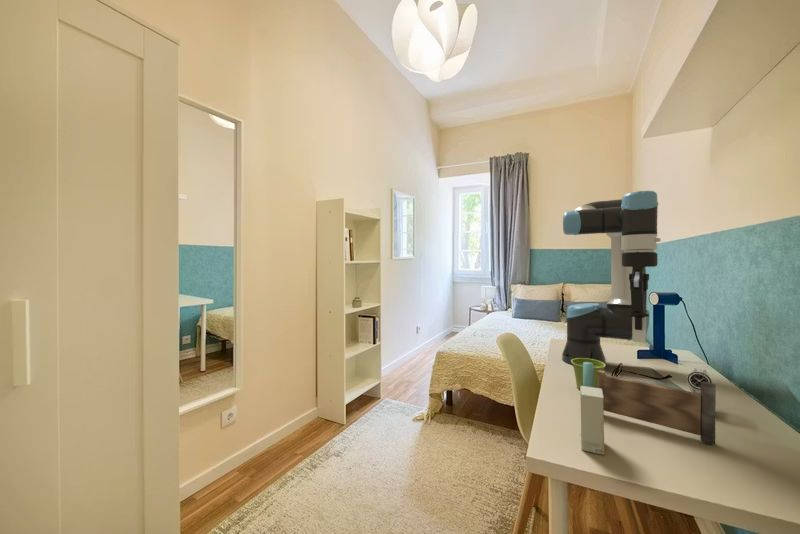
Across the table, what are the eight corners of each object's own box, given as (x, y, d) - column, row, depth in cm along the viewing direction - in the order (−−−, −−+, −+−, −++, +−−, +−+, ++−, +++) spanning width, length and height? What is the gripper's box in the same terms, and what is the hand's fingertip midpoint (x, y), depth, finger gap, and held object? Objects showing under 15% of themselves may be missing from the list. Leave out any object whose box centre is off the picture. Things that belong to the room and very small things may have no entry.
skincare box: (604, 456, 67) (604, 398, 67) (580, 450, 69) (580, 394, 69) (602, 441, 73) (602, 388, 73) (580, 436, 75) (580, 384, 75)
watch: (684, 411, 86) (684, 371, 86) (687, 402, 92) (687, 364, 92) (713, 418, 82) (714, 376, 82) (715, 408, 88) (715, 368, 88)
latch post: (584, 407, 89) (584, 361, 89) (594, 410, 88) (594, 363, 87) (582, 411, 87) (582, 363, 87) (592, 413, 86) (592, 365, 86)
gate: (715, 441, 72) (715, 383, 72) (715, 445, 70) (715, 386, 70) (599, 410, 87) (598, 362, 87) (597, 413, 85) (597, 365, 85)
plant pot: (604, 398, 95) (604, 369, 95) (568, 391, 101) (568, 363, 101) (606, 388, 103) (606, 361, 102) (573, 381, 108) (573, 356, 108)
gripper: (655, 250, 77) (655, 349, 77) (659, 251, 86) (659, 339, 87) (617, 251, 82) (617, 344, 82) (625, 252, 91) (625, 335, 92)
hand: (639, 341), depth 84 cm, fingers closed
